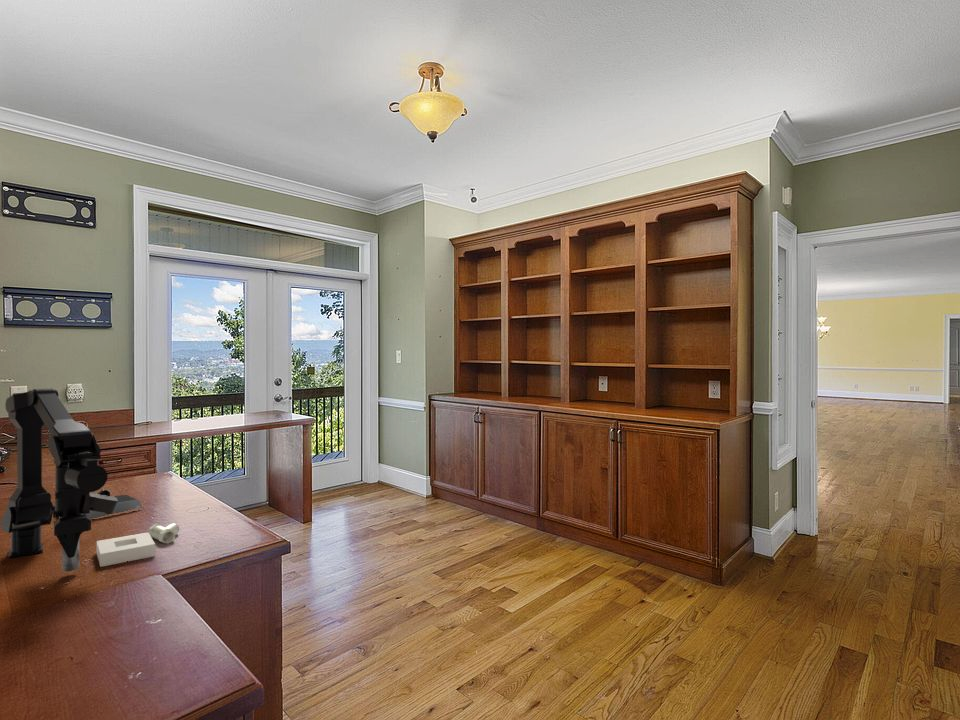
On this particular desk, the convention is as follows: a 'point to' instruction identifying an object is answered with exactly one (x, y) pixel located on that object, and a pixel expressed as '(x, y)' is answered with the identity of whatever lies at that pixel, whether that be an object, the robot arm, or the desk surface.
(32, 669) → the desk surface
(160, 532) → the pipe fitting
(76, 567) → the metal peg
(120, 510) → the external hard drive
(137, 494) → the desk surface
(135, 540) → the hole block
